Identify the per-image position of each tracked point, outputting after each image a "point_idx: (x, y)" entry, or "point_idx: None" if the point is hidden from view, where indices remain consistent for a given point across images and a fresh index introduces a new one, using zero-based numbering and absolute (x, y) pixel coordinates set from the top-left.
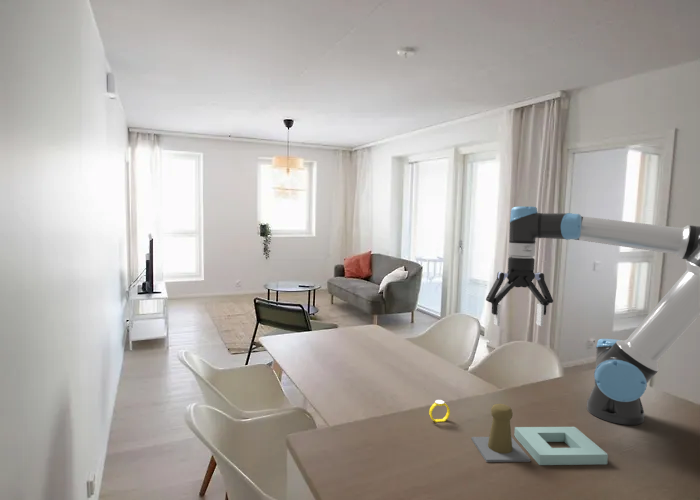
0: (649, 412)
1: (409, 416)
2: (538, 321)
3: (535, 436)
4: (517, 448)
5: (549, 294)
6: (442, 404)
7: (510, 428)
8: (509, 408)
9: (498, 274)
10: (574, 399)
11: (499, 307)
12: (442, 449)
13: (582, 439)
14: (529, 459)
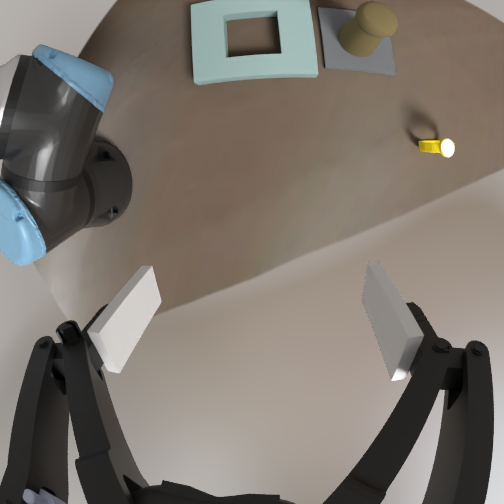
0: None
1: (463, 167)
2: (150, 294)
3: (290, 41)
4: (328, 33)
5: (29, 374)
6: (444, 138)
7: (352, 19)
8: (366, 6)
9: None
10: (137, 237)
11: (408, 325)
12: (438, 60)
13: (205, 39)
14: (319, 7)
